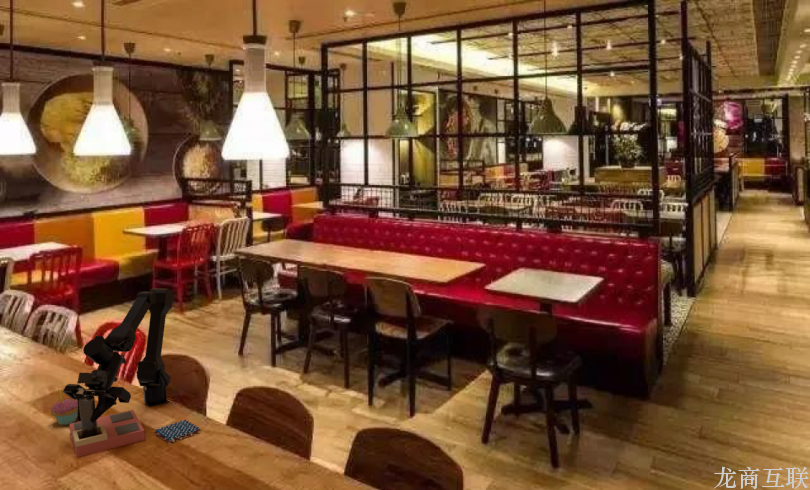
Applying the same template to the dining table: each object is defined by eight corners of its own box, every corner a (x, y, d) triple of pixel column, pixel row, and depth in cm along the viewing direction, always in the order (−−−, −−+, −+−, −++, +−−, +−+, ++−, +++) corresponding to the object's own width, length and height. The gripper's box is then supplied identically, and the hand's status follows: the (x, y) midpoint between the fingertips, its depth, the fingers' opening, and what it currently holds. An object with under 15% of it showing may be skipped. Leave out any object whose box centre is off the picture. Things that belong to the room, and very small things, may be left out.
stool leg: (100, 437, 178) (96, 395, 176) (95, 443, 174) (91, 400, 172) (85, 438, 178) (81, 396, 176) (80, 444, 174) (76, 401, 172)
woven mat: (152, 435, 185) (152, 429, 184) (185, 424, 192) (185, 418, 192) (168, 446, 178) (167, 439, 177) (202, 434, 185) (201, 427, 185)
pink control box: (133, 418, 196) (132, 405, 195) (145, 439, 181) (144, 425, 180) (70, 433, 186) (69, 419, 185) (77, 456, 171) (75, 441, 170)
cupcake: (68, 428, 189) (65, 391, 187) (45, 426, 191) (41, 390, 189) (88, 416, 197) (85, 381, 195) (65, 415, 199) (62, 380, 197)
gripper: (64, 357, 178) (39, 408, 169) (121, 360, 175) (99, 413, 166) (85, 373, 187) (62, 423, 178) (140, 377, 184) (120, 427, 175)
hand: (85, 421), depth 174 cm, fingers closed on stool leg, 4 cm apart
